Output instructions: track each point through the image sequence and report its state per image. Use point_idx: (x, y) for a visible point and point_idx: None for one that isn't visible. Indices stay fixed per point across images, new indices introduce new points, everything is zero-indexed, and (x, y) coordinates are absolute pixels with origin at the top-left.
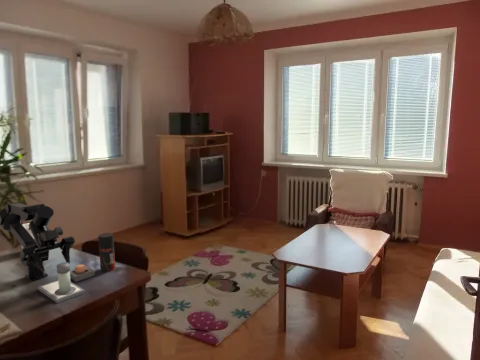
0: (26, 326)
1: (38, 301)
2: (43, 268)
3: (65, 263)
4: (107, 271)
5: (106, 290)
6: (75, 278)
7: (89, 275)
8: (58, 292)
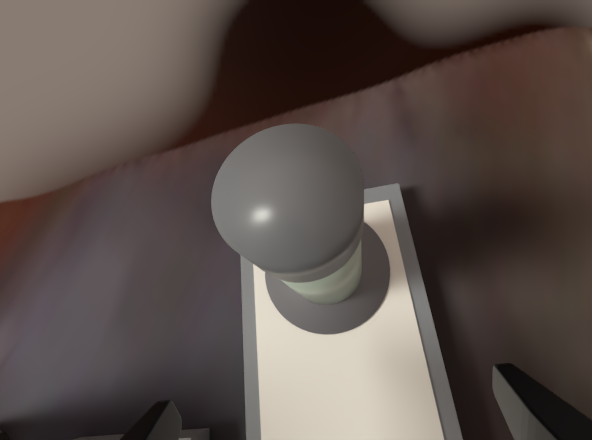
0: (567, 58)
1: (492, 286)
2: (523, 386)
3: (247, 208)
4: (4, 434)
5: (163, 183)
6: (197, 436)
7: (107, 437)
8: (367, 270)
